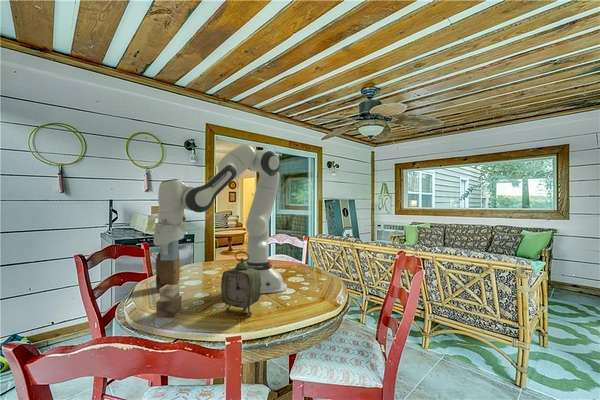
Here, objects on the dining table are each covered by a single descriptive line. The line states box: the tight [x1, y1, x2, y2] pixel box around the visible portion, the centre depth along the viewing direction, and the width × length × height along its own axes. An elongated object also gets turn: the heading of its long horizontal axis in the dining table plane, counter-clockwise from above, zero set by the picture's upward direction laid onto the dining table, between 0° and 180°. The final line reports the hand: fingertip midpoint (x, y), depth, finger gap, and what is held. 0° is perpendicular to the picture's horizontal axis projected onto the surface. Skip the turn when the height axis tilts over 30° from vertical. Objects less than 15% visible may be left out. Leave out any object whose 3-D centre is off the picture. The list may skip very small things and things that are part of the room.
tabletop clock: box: [220, 250, 262, 317], centre depth 116 cm, size 14×9×25 cm, turn 66°
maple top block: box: [159, 284, 181, 302], centre depth 114 cm, size 6×6×5 cm
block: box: [155, 249, 181, 289], centre depth 147 cm, size 11×8×20 cm
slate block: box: [159, 240, 180, 260], centre depth 114 cm, size 5×5×7 cm
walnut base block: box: [155, 295, 183, 318], centre depth 114 cm, size 7×7×6 cm
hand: (170, 253), depth 114 cm, fingers closed on slate block, 5 cm apart
